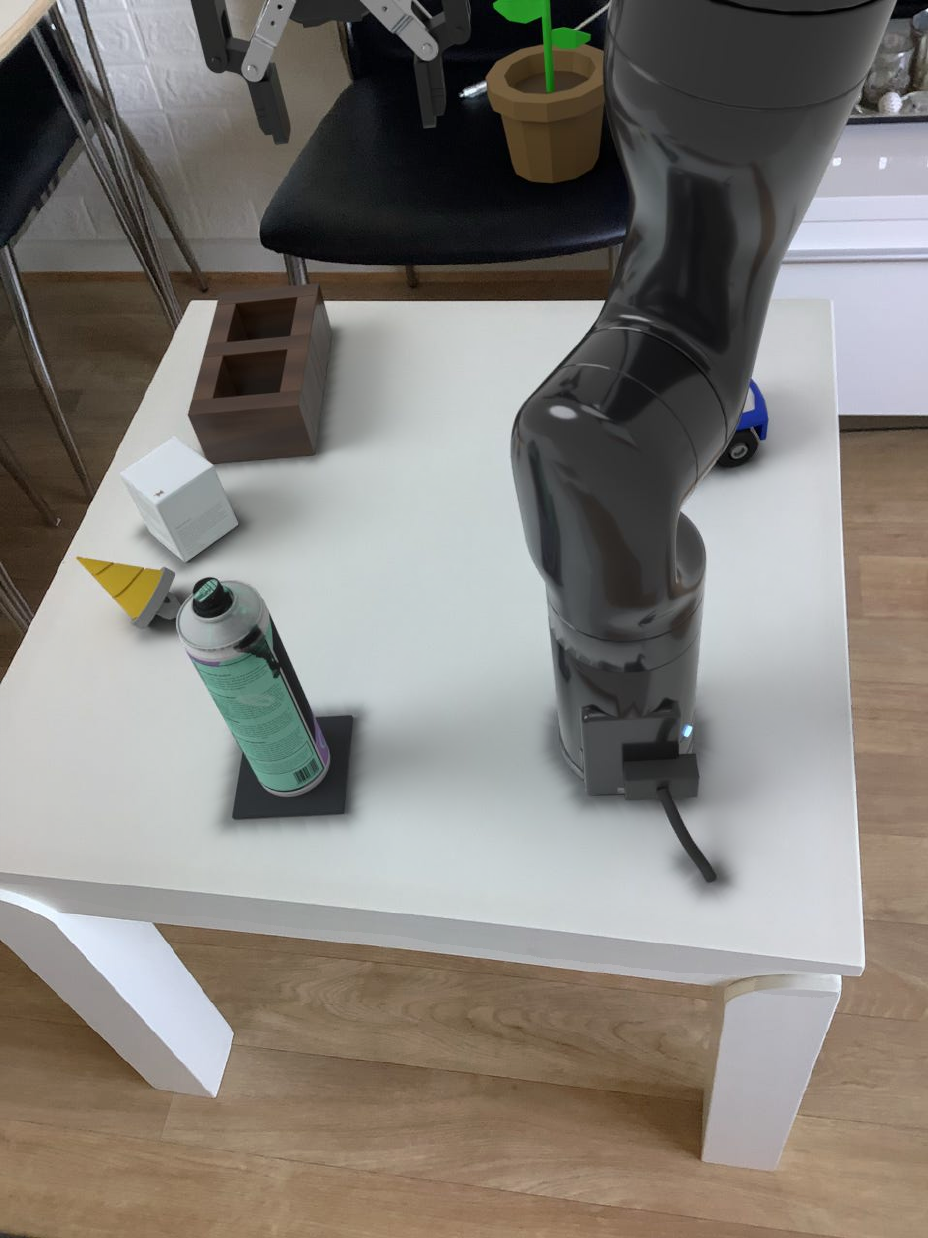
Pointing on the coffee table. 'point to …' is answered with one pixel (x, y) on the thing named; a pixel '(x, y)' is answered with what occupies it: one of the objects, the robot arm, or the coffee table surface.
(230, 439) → the can holder
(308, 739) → the spray can
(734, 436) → the toy car
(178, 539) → the product box
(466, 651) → the coffee table surface
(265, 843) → the coffee table surface
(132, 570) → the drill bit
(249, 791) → the tool mat
